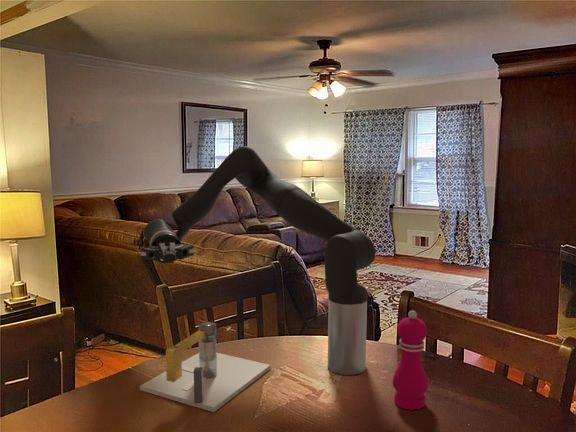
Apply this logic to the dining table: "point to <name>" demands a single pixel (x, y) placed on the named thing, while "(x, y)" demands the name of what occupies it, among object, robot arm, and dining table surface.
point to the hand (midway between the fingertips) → (170, 258)
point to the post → (208, 358)
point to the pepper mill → (411, 364)
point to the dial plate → (207, 382)
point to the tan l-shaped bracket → (174, 353)
